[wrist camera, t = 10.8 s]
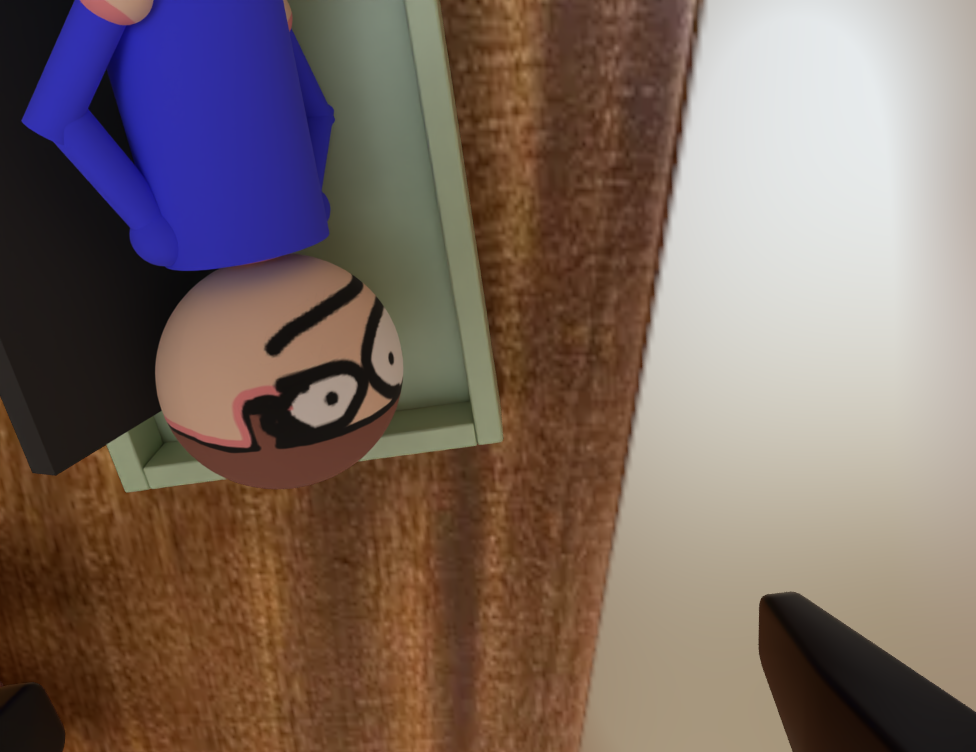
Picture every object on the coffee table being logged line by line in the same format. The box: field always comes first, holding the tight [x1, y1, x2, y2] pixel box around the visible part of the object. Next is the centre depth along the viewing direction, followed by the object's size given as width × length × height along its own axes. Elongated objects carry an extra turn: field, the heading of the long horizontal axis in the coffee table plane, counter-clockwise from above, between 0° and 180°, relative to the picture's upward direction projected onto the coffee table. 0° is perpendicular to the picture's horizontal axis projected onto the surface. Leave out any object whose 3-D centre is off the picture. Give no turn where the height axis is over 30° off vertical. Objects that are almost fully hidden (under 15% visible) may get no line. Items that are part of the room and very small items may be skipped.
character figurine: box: [0, 0, 403, 489], centre depth 13 cm, size 8×7×15 cm
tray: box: [107, 0, 503, 492], centre depth 16 cm, size 10×17×2 cm, turn 8°
